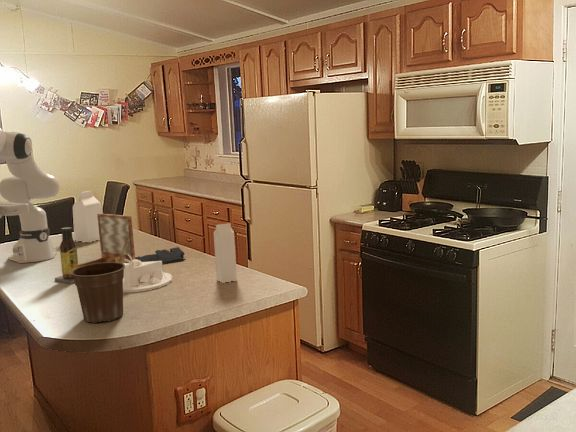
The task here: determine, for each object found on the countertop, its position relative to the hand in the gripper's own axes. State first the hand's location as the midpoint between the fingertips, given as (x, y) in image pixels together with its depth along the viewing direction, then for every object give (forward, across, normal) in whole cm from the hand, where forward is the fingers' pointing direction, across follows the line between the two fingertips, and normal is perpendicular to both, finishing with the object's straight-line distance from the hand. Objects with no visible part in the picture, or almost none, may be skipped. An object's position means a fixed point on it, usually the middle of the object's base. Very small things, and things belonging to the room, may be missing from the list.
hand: (24, 204), depth 213 cm
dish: (+21, -35, +32) cm, 52 cm away
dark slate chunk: (+49, -18, +33) cm, 62 cm away
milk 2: (+37, -65, +32) cm, 82 cm away
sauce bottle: (+12, -6, +31) cm, 34 cm away
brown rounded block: (+33, -12, +32) cm, 47 cm away
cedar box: (+28, -6, +32) cm, 43 cm away
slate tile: (+13, -6, +32) cm, 35 cm away
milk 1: (+68, +51, +32) cm, 91 cm away
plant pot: (-12, -53, +32) cm, 63 cm away
